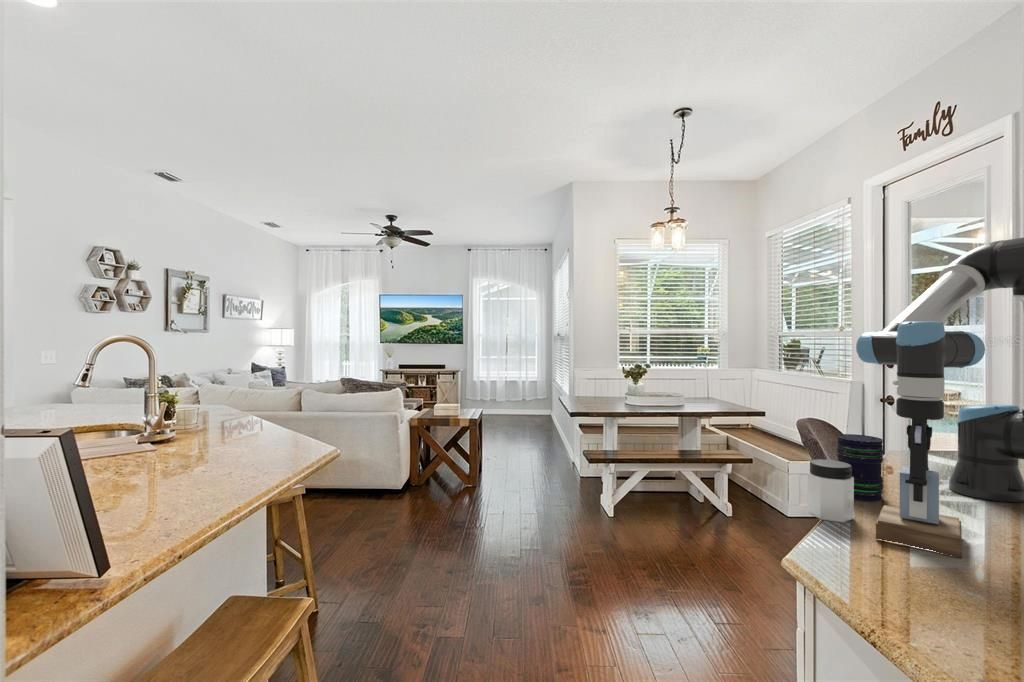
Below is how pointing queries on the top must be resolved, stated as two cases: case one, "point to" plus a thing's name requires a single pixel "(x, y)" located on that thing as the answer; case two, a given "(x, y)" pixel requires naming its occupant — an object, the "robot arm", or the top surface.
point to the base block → (920, 532)
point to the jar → (831, 490)
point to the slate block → (932, 496)
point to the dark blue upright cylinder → (863, 464)
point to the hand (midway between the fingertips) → (918, 512)
